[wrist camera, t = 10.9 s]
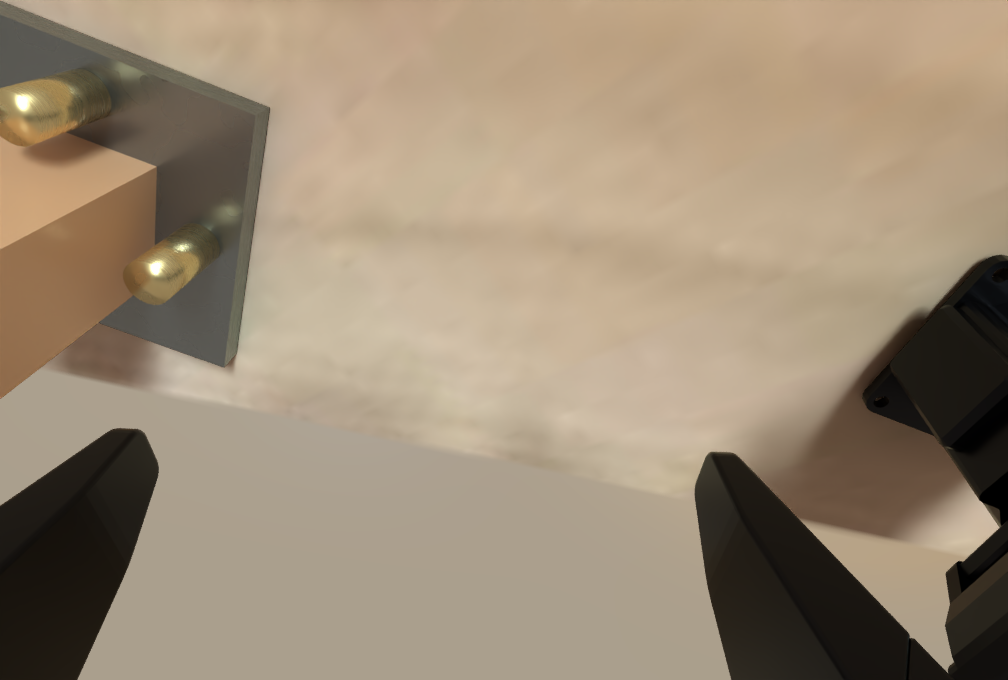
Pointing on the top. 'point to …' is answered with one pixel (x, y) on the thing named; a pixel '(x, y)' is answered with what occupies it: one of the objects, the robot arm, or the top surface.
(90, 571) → the robot arm
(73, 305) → the block
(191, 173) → the chassis
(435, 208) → the top surface
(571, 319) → the top surface
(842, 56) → the top surface
